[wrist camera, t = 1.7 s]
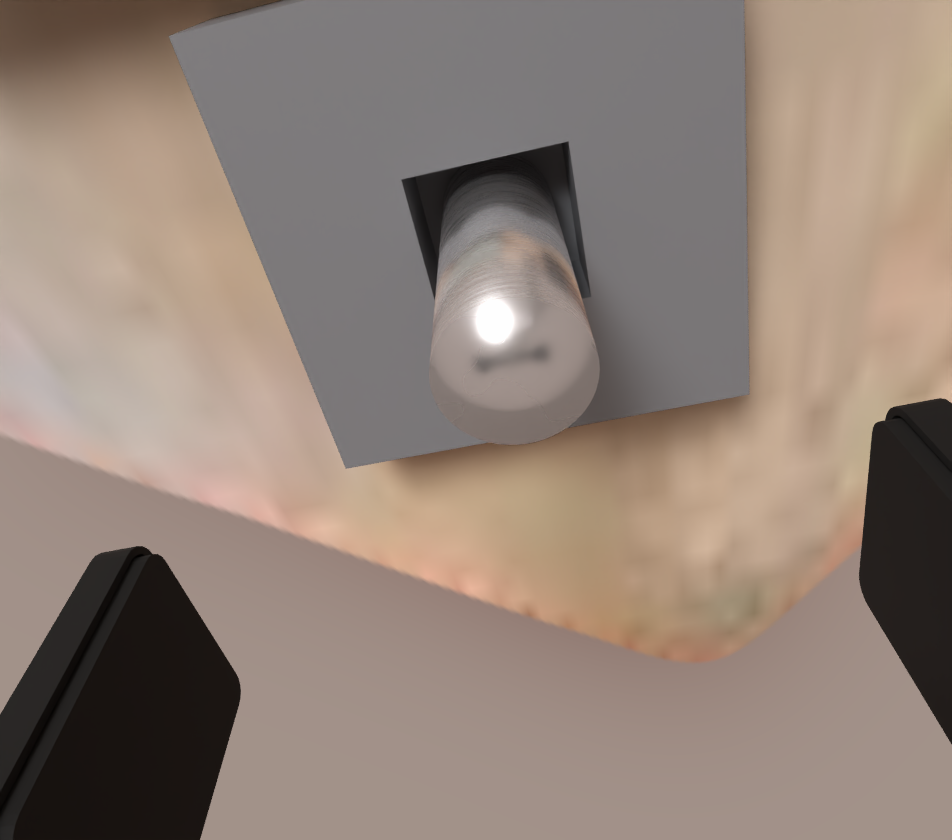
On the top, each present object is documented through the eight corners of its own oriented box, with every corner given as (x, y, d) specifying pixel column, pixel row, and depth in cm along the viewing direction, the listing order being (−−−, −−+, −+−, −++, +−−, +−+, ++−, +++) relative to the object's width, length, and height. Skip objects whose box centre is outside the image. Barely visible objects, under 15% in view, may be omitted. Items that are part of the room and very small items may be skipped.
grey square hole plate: (702, -111, 17) (742, -115, 14) (719, 343, 23) (749, 394, 21) (209, 19, 18) (168, 36, 16) (358, 413, 25) (345, 468, 22)
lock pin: (542, 140, 19) (587, 281, 12) (559, 247, 21) (609, 429, 14) (431, 165, 20) (409, 318, 12) (457, 269, 21) (451, 457, 14)
